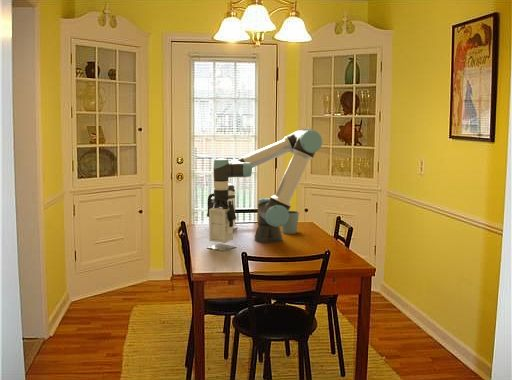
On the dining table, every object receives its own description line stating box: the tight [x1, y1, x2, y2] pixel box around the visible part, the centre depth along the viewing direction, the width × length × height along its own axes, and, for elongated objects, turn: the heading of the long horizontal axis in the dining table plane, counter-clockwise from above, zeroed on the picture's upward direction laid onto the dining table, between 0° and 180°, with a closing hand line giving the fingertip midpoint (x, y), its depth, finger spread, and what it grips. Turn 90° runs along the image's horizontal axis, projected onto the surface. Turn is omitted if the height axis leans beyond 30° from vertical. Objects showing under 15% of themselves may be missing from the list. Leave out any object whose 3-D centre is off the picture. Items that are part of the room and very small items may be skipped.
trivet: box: [206, 243, 237, 252], centre depth 306 cm, size 11×11×1 cm
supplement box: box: [208, 207, 234, 244], centre depth 304 cm, size 10×9×17 cm
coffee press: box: [207, 183, 238, 230], centre depth 352 cm, size 17×16×30 cm
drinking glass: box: [281, 210, 300, 235], centre depth 344 cm, size 10×10×12 cm
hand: (221, 231), depth 304 cm, fingers closed on supplement box, 10 cm apart
